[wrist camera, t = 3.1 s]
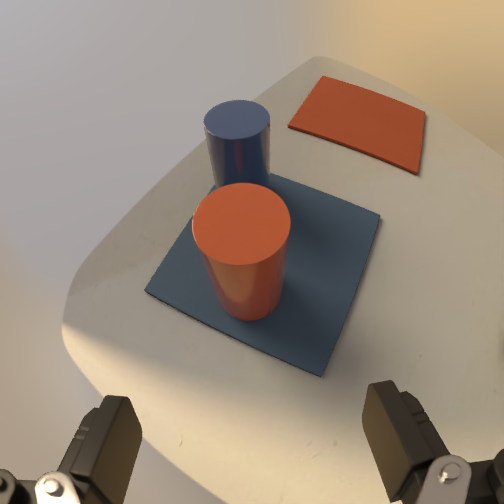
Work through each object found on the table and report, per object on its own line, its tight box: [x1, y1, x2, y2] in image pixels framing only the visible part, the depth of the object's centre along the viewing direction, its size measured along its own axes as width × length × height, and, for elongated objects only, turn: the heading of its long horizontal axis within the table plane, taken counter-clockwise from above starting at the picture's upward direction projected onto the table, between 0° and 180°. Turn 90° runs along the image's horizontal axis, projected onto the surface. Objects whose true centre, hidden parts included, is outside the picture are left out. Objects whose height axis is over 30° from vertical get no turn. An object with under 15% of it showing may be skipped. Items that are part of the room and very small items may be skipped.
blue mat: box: [144, 173, 380, 377], centre depth 27 cm, size 16×16×1 cm
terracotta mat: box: [288, 76, 425, 175], centre depth 36 cm, size 16×14×1 cm
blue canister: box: [203, 100, 270, 189], centre depth 26 cm, size 5×5×9 cm
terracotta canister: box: [192, 183, 291, 321], centre depth 21 cm, size 5×5×10 cm
